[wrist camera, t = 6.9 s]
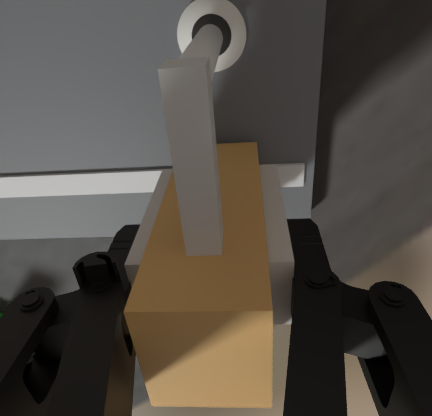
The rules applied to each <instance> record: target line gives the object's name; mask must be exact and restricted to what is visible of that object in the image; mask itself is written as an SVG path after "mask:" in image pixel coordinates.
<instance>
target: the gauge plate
mask: <svg viewBox="0 0 432 416" xmlns="http://www.w3.org/2000/svg"><path fill="white" fill-rule="evenodd" d="M326 2H327V0H0V240H3V239H40V238H77V237H114V236H115V235H116V233H117V232H118V231H119V230H120V229H121V228H122V227H123V226H125V225H132V224H141V222H142V219H143V217H144V214H145V212H146V209H147V207H148V204H149V202H150V199H151V197H152V194H153V192H154V189H155V187H156V184H157V182H158V179H159V177H160V174H161V172H162V169H173V166H172V159H171V153H170V146H169V140H168V133H167V127H166V120H165V114H164V107H163V101H162V94H161V88H160V81H159V75H158V68H159V67H160V66H161V65H162V64H163V62H164V61H165V60H167V59H179V57H180V56H181V54H182V53H183V52H184V50H185V49H186V48H187V46H188V45H189V44H190V42H191V41H192V40H193V38H194V37H195V35H196V34H197V33H198V31H199V30H200V29H201V28H202V27H203V26H204V25H207V24H213V25H215V26H217V27H218V28H219V29H220V30H221V32H222V35H223V42H222V46H221V49H220V53H219V57H218V60H217V64H216V68H215V71H214V75H213V79H212V83H211V85H212V97H213V109H214V122H215V134H216V144H223V143H243V142H257V148H258V159H259V165H269V164H276V165H277V170H278V176H279V181H280V186H281V192H282V197H283V202H284V208H285V213H286V219H303V218H310V219H311V205H312V192H313V178H314V165H315V151H316V138H317V124H318V110H319V97H320V83H321V70H322V56H323V43H324V29H325V16H326Z"/></svg>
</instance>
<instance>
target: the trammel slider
mask: <svg viewBox="0 0 432 416" xmlns="http://www.w3.org/2000/svg"><path fill="white" fill-rule="evenodd" d="M222 42H223V35H222V32H221V30H220V29H219V28H218V27H217V26H215V25H213V24H207V25H204V26H203V27H202V28H201V29H200V30H199V31H198V33H197V34H196V35H195V37H194V38H193V40H192V41H191V42H190V44H189V45H188V46H187V48H186V49H185V50H184V52H183V53H182V54H181V56H180V57H179V59H167V60H165V61H164V62H163V64H162V65H161V66H160V67H159V68H158V75H159V81H160V88H161V94H162V101H163V107H164V114H165V120H166V127H167V133H168V140H169V146H170V153H171V159H172V166H173V171H172V174H171V177H170V179H169V182H168V185H167V188H166V191H165V194H164V197H163V200H162V202H161V205H160V208H159V211H158V214H157V217H156V220H155V223H154V226H153V228H152V231H151V234H150V237H149V240H148V243H147V246H146V249H145V251H144V254H143V257H142V260H141V263H140V266H139V269H138V272H137V275H136V277H135V280H134V283H133V286H132V289H131V292H130V295H129V298H128V300H127V303H126V306H125V309H124V316H125V319H126V322H127V325H128V329H129V332H130V335H131V339H132V342H133V345H134V349H135V352H136V355H137V358H138V362H139V365H140V368H141V372H142V375H143V378H144V382H145V385H146V388H147V392H148V395H149V398H150V401H151V405H152V406H170V407H171V406H172V407H174V406H175V407H237V408H238V407H241V408H272V354H273V353H272V352H273V351H272V350H273V346H272V345H273V306H272V296H271V285H270V275H269V264H268V254H267V243H266V232H265V222H264V211H263V201H262V190H261V180H260V169H259V159H258V148H257V142H243V143H223V144H216V134H215V122H214V109H213V97H212V85H211V83H212V79H213V75H214V71H215V68H216V64H217V60H218V57H219V53H220V49H221V46H222Z"/></svg>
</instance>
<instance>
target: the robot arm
mask: <svg viewBox="0 0 432 416" xmlns="http://www.w3.org/2000/svg"><path fill="white" fill-rule="evenodd" d="M259 169H260V180H261V190H262V201H263V211H264V222H265V232H266V243H267V254H268V264H269V275H270V285H271V296H272V306H273V324H291V335H290V345H289V356H288V367H287V378H286V389H285V400H284V411H283V416H347V402H346V382H345V363H344V353H348V354H351V355H355V356H357V357H358V360H359V363H360V365H361V368H362V371H363V373H364V376H365V379H366V381H367V384H368V387H369V390H370V392H371V395H372V398H373V401H374V403H375V406H376V409H377V411H378V414H379V416H432V320H431V318H430V316H429V315H428V313H427V312H426V310H425V308H424V307H423V305H422V304H421V302H420V300H419V299H418V297H417V296H416V295H415V294H414V292H413V291H412V290H410V289H409V288H407V287H406V286H404V285H402V284H399V283H396V282H389V281H382V282H377V283H375V284H374V285H372V286H371V287H370V289H369V290H365V289H360V288H356V287H352V286H349V285H347V284H345V283H343V282H341V281H340V280H339V278H338V277H337V276H336V275H335V274H334V273H333V272H332V271H331V268H330V265H329V262H328V259H327V255H326V252H325V249H324V245H323V243H322V239H321V237H320V232H319V229H318V226H317V225H316V224H315V223H314V222H313V221H312V220H311V219H310V218H303V219H286V213H285V208H284V202H283V197H282V192H281V186H280V181H279V176H278V170H277V165H276V164H269V165H259ZM172 171H173V169H162V172H161V174H160V177H159V179H158V182H157V184H156V187H155V189H154V192H153V194H152V197H151V199H150V202H149V204H148V207H147V209H146V212H145V214H144V217H143V219H142V222H141V224H132V225H125V226H123V227H122V228H121V229H120V230H119V231H118V232H117V233H116V235H115V237H114V239H113V243H111V245H110V248H109V250H108V252H95V253H91V254H88V255H86V256H84V257H82V258H81V259H80V260H78V261H77V262H76V263H75V265H74V267H73V271H74V273H75V276H76V279H77V281H78V284H79V287H80V289H79V290H77V291H74V292H71V293H67V294H63V295H59V296H55V295H54V293H53V291H51V290H50V289H49V288H44V287H40V288H34V289H31V290H28V291H26V292H24V293H22V294H21V295H19V296H18V297H17V298H16V299H15V300H14V301H13V302H12V303H11V304H10V305H9V307H8V308H7V309H6V311H5V312H4V313H3V315H2V316H1V317H0V416H132V401H133V387H134V372H135V357H136V352H135V349H134V345H133V342H132V339H131V335H130V332H129V329H128V325H127V322H126V319H125V316H124V309H125V306H126V303H127V300H128V298H129V295H130V292H131V289H132V286H133V283H134V280H135V277H136V275H137V272H138V269H139V266H140V263H141V260H142V257H143V254H144V251H145V249H146V246H147V243H148V240H149V237H150V234H151V231H152V228H153V226H154V223H155V220H156V217H157V214H158V211H159V208H160V205H161V202H162V200H163V197H164V194H165V191H166V188H167V185H168V182H169V179H170V177H171V174H172ZM291 321H292V323H291Z"/></svg>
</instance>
